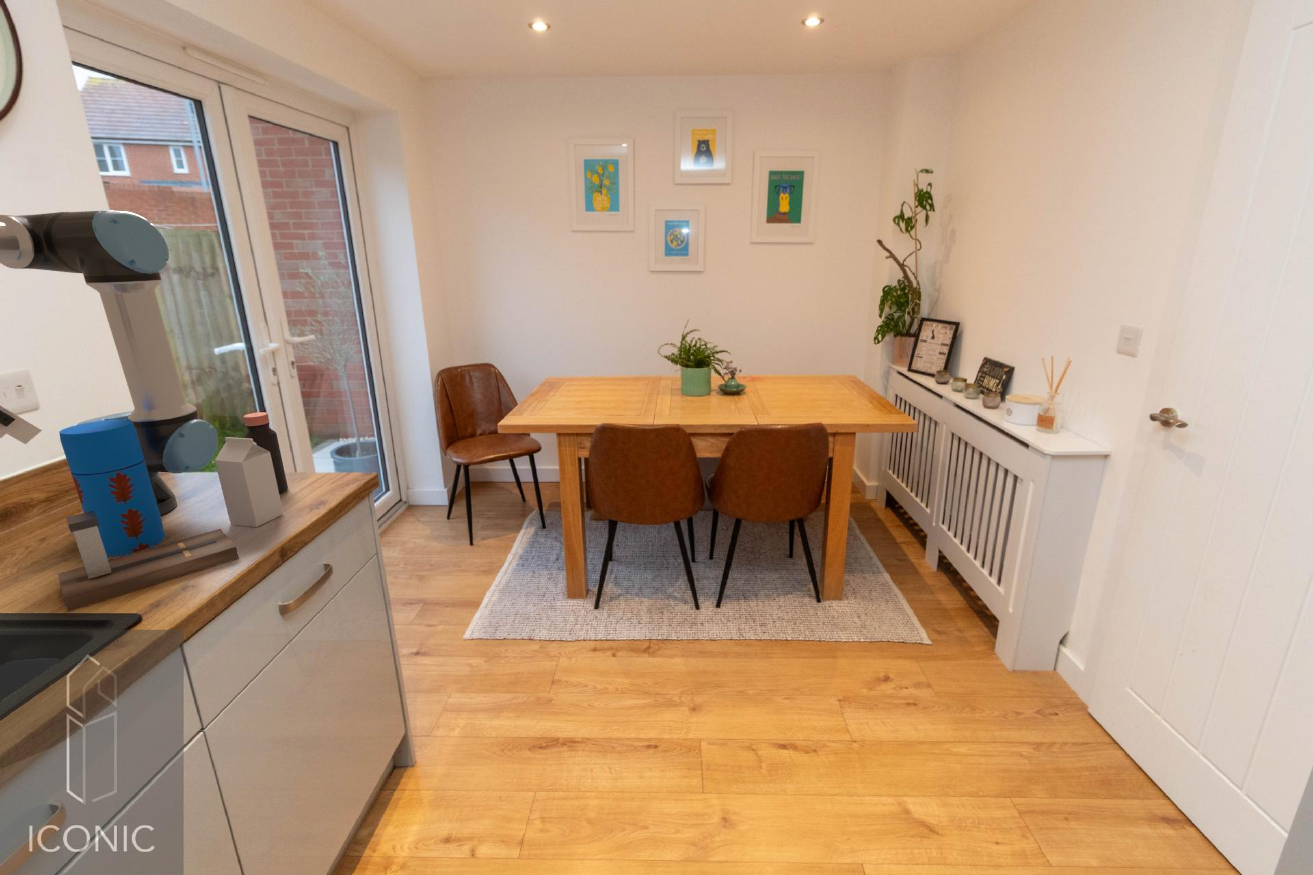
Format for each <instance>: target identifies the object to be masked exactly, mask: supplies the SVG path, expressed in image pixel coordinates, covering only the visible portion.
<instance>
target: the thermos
mask: <svg viewBox="0 0 1313 875" xmlns="http://www.w3.org/2000/svg"><path fill="white" fill-rule="evenodd" d="M58 432H59V439H60V440H59V442H60V443H61V446H62V449H63V453H64V456H65V458H66V463H67V465H68V467H69V468H68V469H69V471H70V474H71V475H70V476H71V478H72V481H73V483H74V487H75V490H76V492H77V496H78V499H79V502H80V505H81V508H82V513H86V512H90V511H94V512H95V514H96V516H97V519H98V522H99V526H97V527H98V530H99V533H100V537H101V540H102V543H103V546H104V549H105V552H106V555H107V557H120V556H124V555H127V554H131V553H134V552H138V551H142V550H145V549H149V548H152V547H155V546H156V545H158V544H159V543H161V542H163V541H164V539H165V537H166V535H165V530H164V524H163V521H162V515H160V512H159V509H158V505H157V502H156V498H155V495H154V491H153V488H152V484H151V481H150V477H149V474H148V470H147V467H146V463H145V460H144V456H143V452H142V449H141V445H140V442H139V438H138V435H137V431H136V429H135V427H134V424H133V422H132V421H131V420H105V421H97V422H91V423H85V424H80V425H77V424H76V425H71V426H69V427H68V426H67V427H65V428H62V429H61V430H60V431H58Z"/></svg>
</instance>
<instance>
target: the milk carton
mask: <svg viewBox="0 0 1313 875" xmlns="http://www.w3.org/2000/svg"><path fill="white" fill-rule="evenodd" d="M224 440H225V443H224V444H223V446H222V448H221V449H220V451H219V452H218V455H217V456H216V457H215V459H214V463H215V468H216V471H217V475H218V478H219V482H220V486H221V487H220V488H221V491H222V494H223V499H224V503H225V507H226V511H227V515H228V519H229V523H230V525H233V526H242V527H249V528H250V527H252V528H258V527H260V526H263V525H265V524H266V523H267V522H270V521H272V520H275V519H276V518H278V517H279V516H283V515H284V510H283V506H282V500H281V496H280V495H281V494H280V495H279V491H278V486H277V482H276V477H275V472H274V468H273V463H272V459H271V454H270V452H269V451H267V450H265V449H263V448H261V447H259V446H257V445H256V443H255V442H253V439H247V438H243V437H233V436H232V437H229V436H228V437H227V436H225V437H224Z"/></svg>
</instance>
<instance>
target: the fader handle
mask: <svg viewBox="0 0 1313 875" xmlns="http://www.w3.org/2000/svg"><path fill="white" fill-rule="evenodd" d="M65 519H66V523H67V526H68V529H69V531H70V533H73V536H74V539H75V542H76V544H77V549H78V551H79V554H80V557H81V560H82V563H83V567H84V566H85V569H86V572H87V575H88V578H89V579H90V578H94V577H97V576H101V575H104V574H108V573H111V572H112V571H111V568H110V565H109V562H108V560H109V559H108V556H107V555H106V552H105V549H104V546H103V543H102V540H101V537H100V533H99V530H98V527H97V526H99V522H98V519H97V516H96V514H95V512H94V511H90V512H86V513H84V512H82V513H79V514H77V513H76V514H73V515H69V516H66V517H65Z"/></svg>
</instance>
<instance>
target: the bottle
mask: <svg viewBox="0 0 1313 875" xmlns="http://www.w3.org/2000/svg"><path fill="white" fill-rule="evenodd" d="M243 421H244V425H245V428H247V432H246V433H245V434H244V436H243V437H242V438H247V439H253V442H255V443H256V445H257V446H259V447H261V448H263V449H265V450H267V451H269V452H270V454H271V459H272V463H273V468H274V472H275V477H276V482H277V486H278V491H279V495H282V494H284V493H286V492H288V490H289V485H288V481H287V477H286V476H287V475H286V471H285V466H284V462H283V457H282V452H281V448H280V443H279V438H278V435H277V434H278V433H277V432H276V431H275V430H273V429H272V428H270V417H269V413H268V412H261V411H260V412H253V413H252V412H251V413H247V414H245V415H243Z"/></svg>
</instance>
